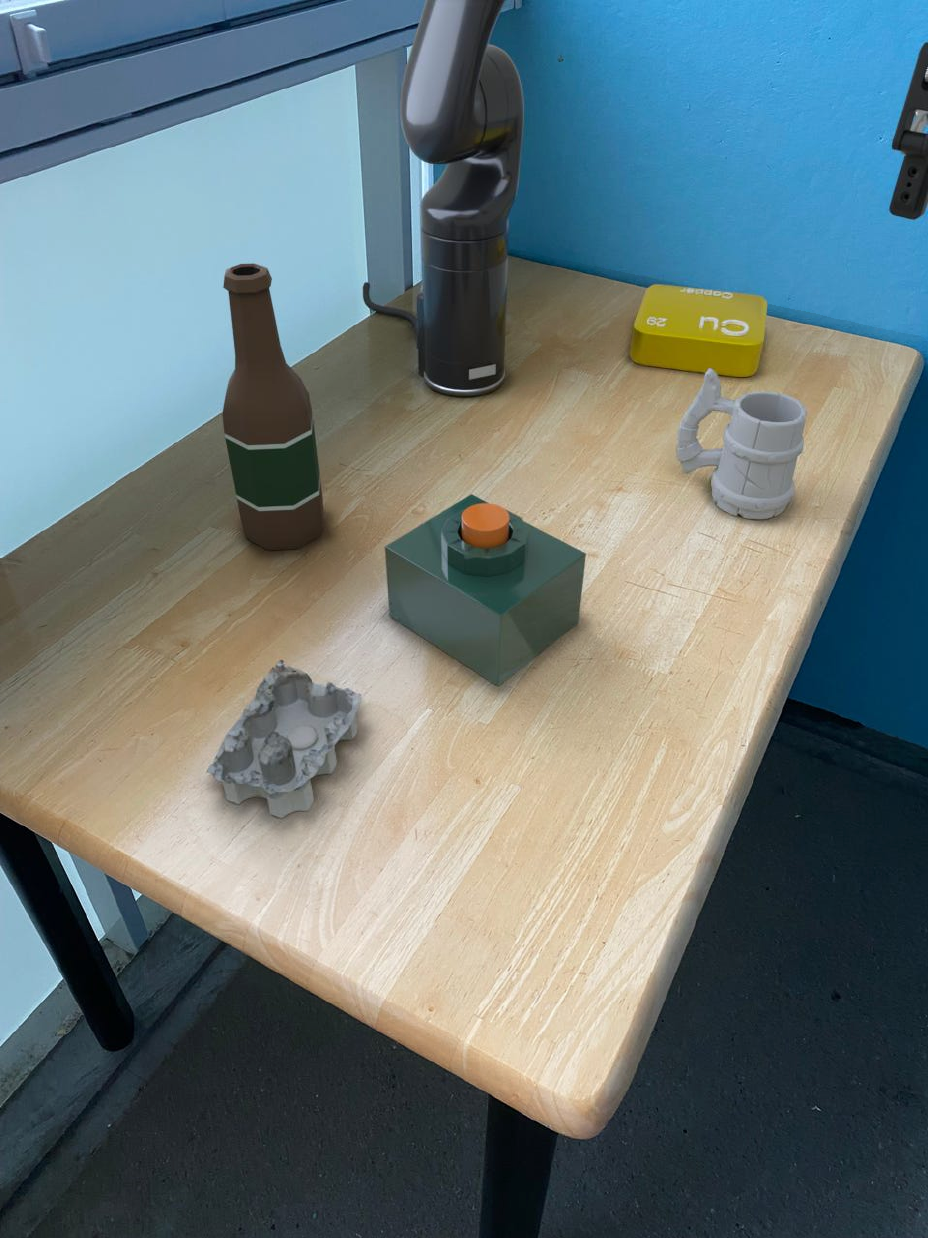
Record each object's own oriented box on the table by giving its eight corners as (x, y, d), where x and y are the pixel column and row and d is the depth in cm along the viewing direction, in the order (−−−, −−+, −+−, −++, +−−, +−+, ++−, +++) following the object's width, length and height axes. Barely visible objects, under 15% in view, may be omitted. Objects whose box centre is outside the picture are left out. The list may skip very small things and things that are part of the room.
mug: (779, 530, 86) (811, 414, 78) (656, 497, 90) (675, 383, 82) (798, 489, 91) (830, 376, 83) (681, 459, 95) (701, 349, 87)
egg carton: (287, 692, 71) (281, 652, 68) (375, 722, 68) (371, 682, 65) (202, 794, 63) (191, 754, 60) (297, 832, 61) (289, 793, 58)
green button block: (389, 616, 77) (383, 527, 71) (470, 561, 82) (471, 475, 76) (498, 687, 71) (501, 596, 65) (578, 623, 76) (588, 534, 70)
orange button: (451, 535, 71) (451, 517, 70) (483, 516, 73) (483, 497, 72) (487, 555, 69) (487, 536, 68) (518, 534, 71) (519, 515, 70)
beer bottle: (258, 562, 82) (209, 297, 66) (231, 517, 87) (181, 260, 72) (340, 538, 85) (312, 277, 69) (310, 496, 90) (278, 244, 74)
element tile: (761, 327, 119) (769, 290, 116) (755, 380, 108) (764, 341, 105) (643, 314, 122) (648, 277, 119) (626, 364, 111) (631, 325, 108)
